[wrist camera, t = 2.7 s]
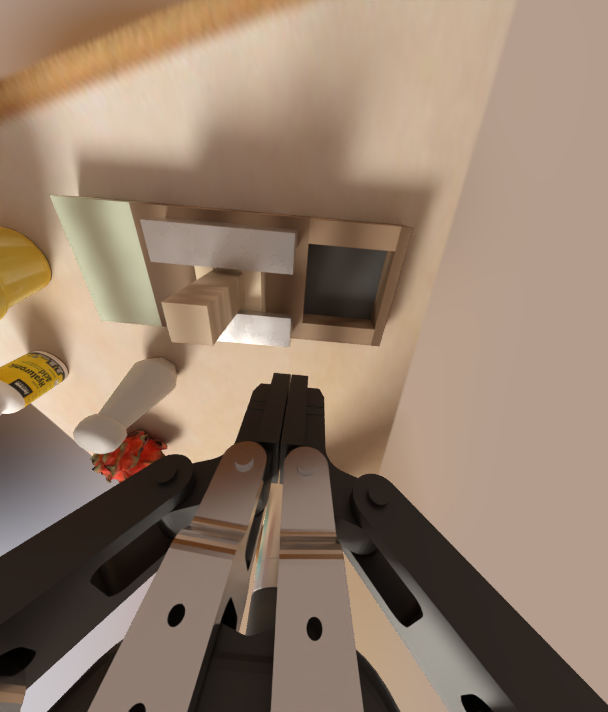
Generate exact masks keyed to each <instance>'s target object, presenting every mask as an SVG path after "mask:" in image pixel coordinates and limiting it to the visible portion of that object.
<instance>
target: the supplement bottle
mask: <svg viewBox="0 0 608 712" xmlns="http://www.w3.org/2000/svg"><path fill="white" fill-rule="evenodd" d="M67 376H68V370H67V368H66V366H65V365H64V363H63V362H62V361H60V360H59V359H58V358H57V357H55V356H53V355H51V354H49V353H47V352H43V351H33V352H30V353H28V354H26V355H24V356H22V357H20V358H18V359H16V360H14V361H12V362H10V363H8V364H6V365H4V366H2V367H0V415H1V414H2V413H4V414H9V413H14V412H17V411H19V410H21V409H22V408H24V407H25V406H27V405H28V404H30V403H31V402H33V401H34V400H36V399H37V398H39V397H40V396H41V395H43V394H44V393H46V392H47V391H49V390H50V389H52V388H53V387H55V386H56V385H58V384H59V383H61V382H62V381H63V380H65V379H66V378H67Z"/></svg>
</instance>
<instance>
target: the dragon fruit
mask: <svg viewBox="0 0 608 712" xmlns="http://www.w3.org/2000/svg"><path fill="white" fill-rule="evenodd" d="M144 433H145V431H135V432H133V433H131V434H128V435H127V436H126V438H125V440H124V441H123V442H122V444H121V445H120V446H119V447H118V448H117V449H116V450H115V451H113V452H109V453H105V454H97V453H95V454H94V455H93V457H92V458H91V460H92V463H93V465H95V467H94V468H93V469H92V470H93V471H95V472H97V473H100V472H101V474H102V475H105V476H106V481H107V482H108V483H110V482H111V480H112V479H117V480H118V481H119V483H121V482H122V481H124V480H126V479H127V478H129V477H130V476H132V475H134V474H135V473H137V472H138V471H140V470H142V469H143V468H145V467H147V466H148V465H150V464H151V463H153V462H155V461H156V460H158V459H160V458H162V457H165V455H164V454H163V453H162V451H161V450H164V449H167V445H166V444H165V443H164V444H163V443H162V441H161V440H157V439H156V440H154V439H150V438H149V435H143V434H144ZM136 434H137V435H136ZM135 435H136V436H135ZM167 456H168V455H167Z"/></svg>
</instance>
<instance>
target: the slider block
mask: <svg viewBox="0 0 608 712" xmlns="http://www.w3.org/2000/svg"><path fill="white" fill-rule="evenodd" d="M194 267H195V273H196V281H194V282H193V283H191V284H189V285H188V286H186V287H185V288H183V289H181V290H180V291H178V292H177V293H175V294H173V295H172V296H170V297H169V298H167V299H165V300H164V301H162V302H161V303H162V307H163V311H164V314H165V318H166V322H167V326H168V330H169V334H170V338H171V342H177V343H188V344H199V345H210V346H213V345H214V344H215V342H216V341H217V340H218V338H219V337H220V336H221V334H222V333H223V332H224V330H225V329H226V328H227V326H228V325H229V324H230V322H231V321H232V320H233V318H234V317H235V316H236V314H237V313H238V312H239V310H248V311H259V312H266V272H258V271H247V270H236V269H225V268H214V267H203V266H194Z"/></svg>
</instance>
